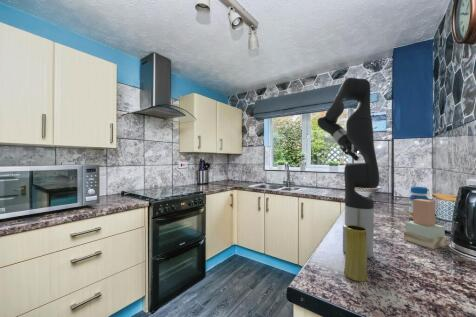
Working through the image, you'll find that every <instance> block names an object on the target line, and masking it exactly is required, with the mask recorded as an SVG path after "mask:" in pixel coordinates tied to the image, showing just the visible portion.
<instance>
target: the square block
mask: <svg viewBox="0 0 476 317" xmlns="http://www.w3.org/2000/svg"><path fill="white" fill-rule="evenodd" d="M413 223H416V224H420V225H424V226H433V225H435V224H436V201H435V200H430V199H429V200H424V199H413Z"/></svg>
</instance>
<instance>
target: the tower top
mask: <svg viewBox="0 0 476 317" xmlns="http://www.w3.org/2000/svg"><path fill="white" fill-rule="evenodd" d="M404 227H405V229H404V231H407V232H410V233H413V234H416V235H420V236H423V237H426V238H429V239H432V238H438V237H444V236H446V232H445V231H446V227H445V226H444V225H440V224H436V223H435V225H433V226H424V225H420V224H416V223H413V221H409V220H408V221H405V226H404Z"/></svg>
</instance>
